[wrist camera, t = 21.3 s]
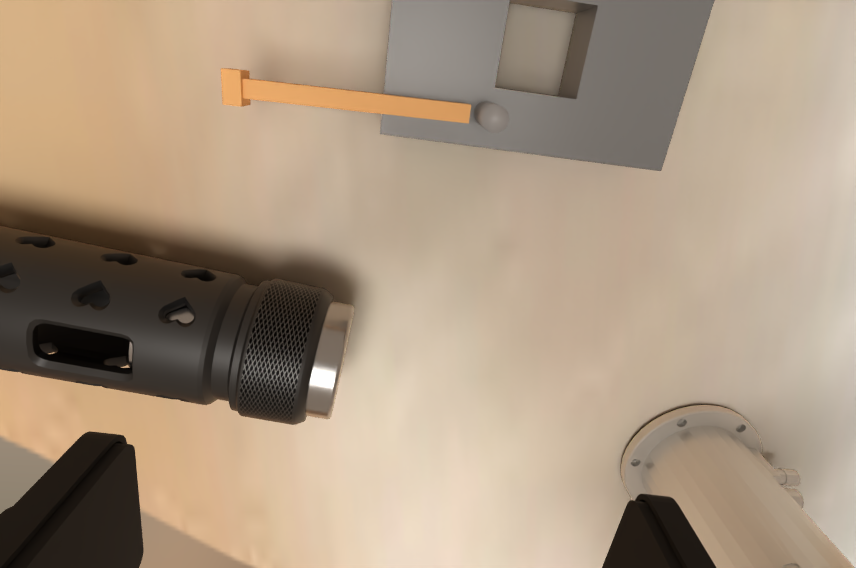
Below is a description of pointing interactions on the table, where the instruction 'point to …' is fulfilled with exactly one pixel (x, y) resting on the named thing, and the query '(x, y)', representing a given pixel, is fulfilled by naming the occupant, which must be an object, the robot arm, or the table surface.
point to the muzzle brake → (169, 328)
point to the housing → (580, 87)
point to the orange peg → (336, 98)
